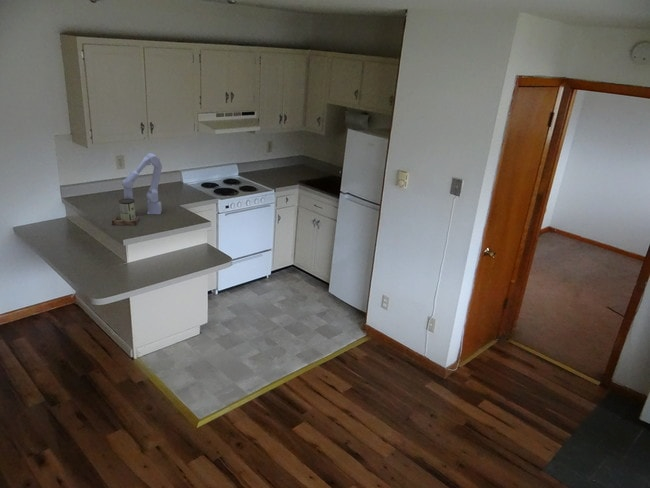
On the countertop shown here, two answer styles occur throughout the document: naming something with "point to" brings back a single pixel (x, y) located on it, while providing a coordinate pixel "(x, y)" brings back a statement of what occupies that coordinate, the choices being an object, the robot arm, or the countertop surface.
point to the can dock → (125, 221)
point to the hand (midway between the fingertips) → (130, 213)
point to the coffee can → (127, 209)
